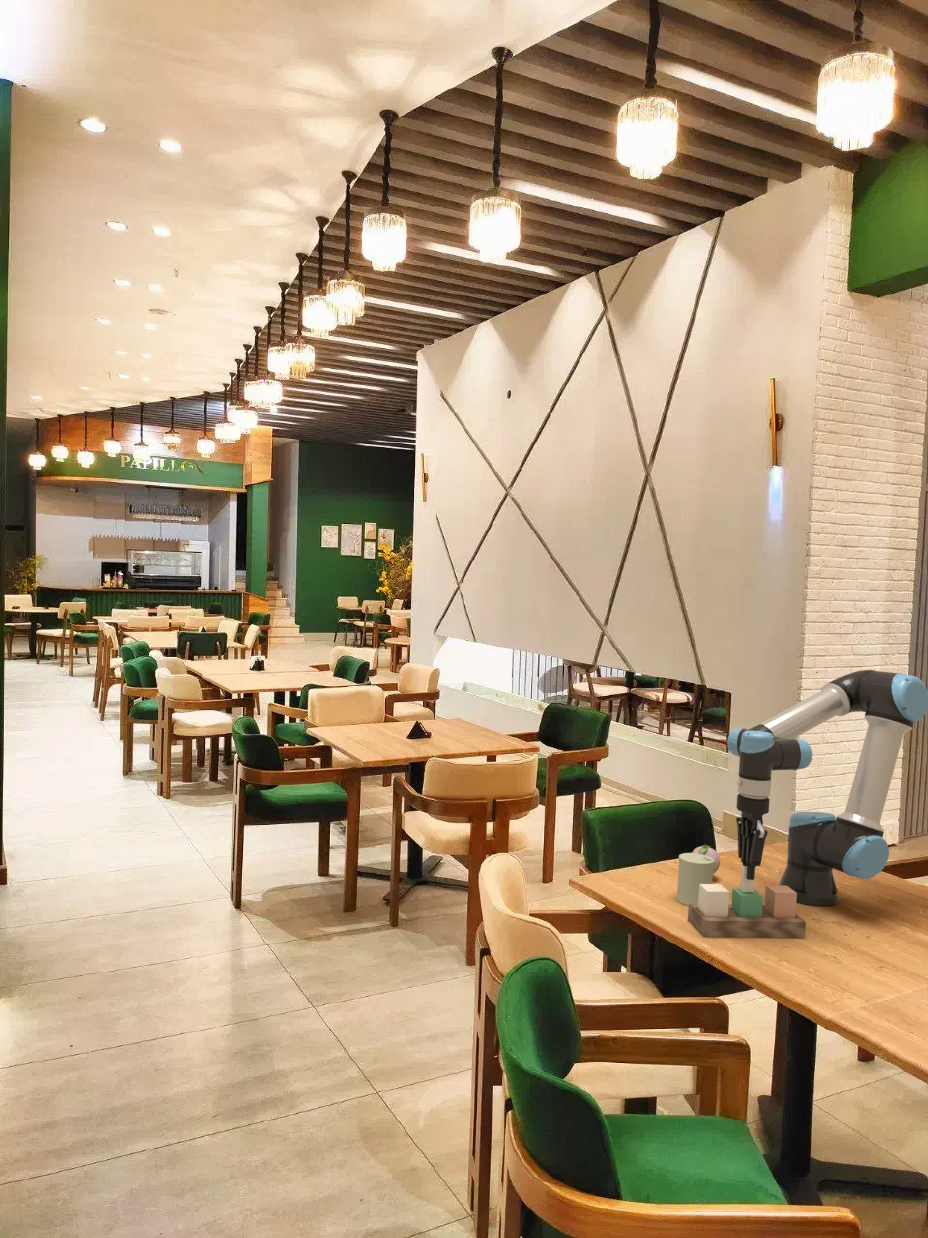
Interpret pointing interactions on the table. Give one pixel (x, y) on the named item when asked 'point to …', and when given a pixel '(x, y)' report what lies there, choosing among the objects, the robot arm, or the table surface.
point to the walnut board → (746, 925)
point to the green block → (746, 903)
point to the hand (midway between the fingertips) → (747, 891)
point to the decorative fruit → (711, 853)
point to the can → (693, 876)
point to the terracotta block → (780, 901)
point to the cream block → (713, 900)
